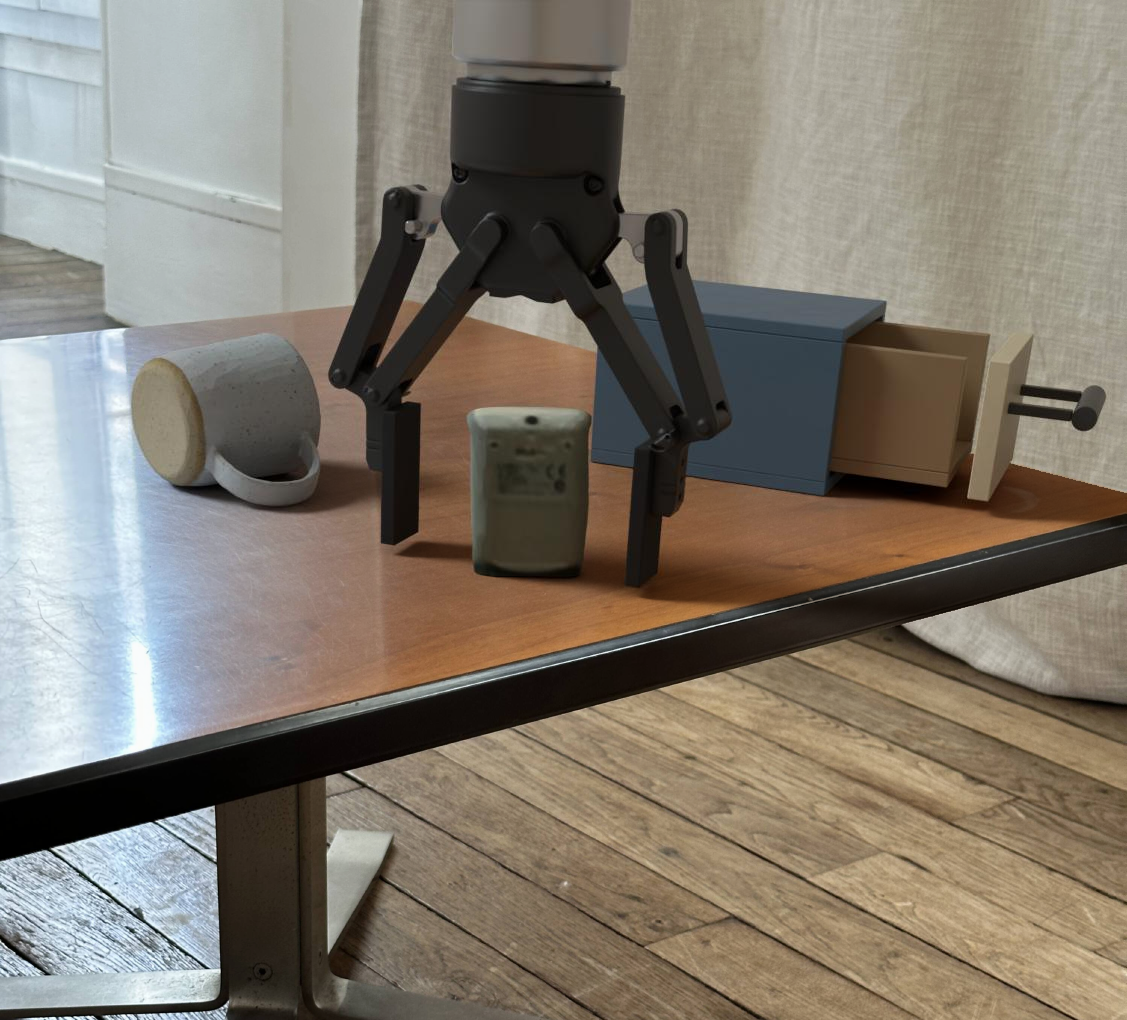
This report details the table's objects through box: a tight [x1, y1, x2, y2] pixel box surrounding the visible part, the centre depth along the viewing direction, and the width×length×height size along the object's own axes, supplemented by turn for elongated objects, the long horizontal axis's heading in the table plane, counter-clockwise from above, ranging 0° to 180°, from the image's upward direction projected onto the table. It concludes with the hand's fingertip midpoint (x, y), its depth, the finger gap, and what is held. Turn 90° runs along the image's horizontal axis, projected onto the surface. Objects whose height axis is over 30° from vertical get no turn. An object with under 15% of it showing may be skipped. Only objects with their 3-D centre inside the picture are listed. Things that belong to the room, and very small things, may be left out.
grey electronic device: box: [466, 406, 593, 578], centre depth 75 cm, size 6×5×8 cm
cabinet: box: [589, 279, 888, 497], centre depth 99 cm, size 15×13×10 cm
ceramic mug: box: [130, 332, 322, 507], centre depth 87 cm, size 11×8×8 cm
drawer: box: [830, 321, 1107, 502], centre depth 95 cm, size 18×11×8 cm, turn 69°
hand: (517, 558), depth 77 cm, fingers open, 12 cm apart
